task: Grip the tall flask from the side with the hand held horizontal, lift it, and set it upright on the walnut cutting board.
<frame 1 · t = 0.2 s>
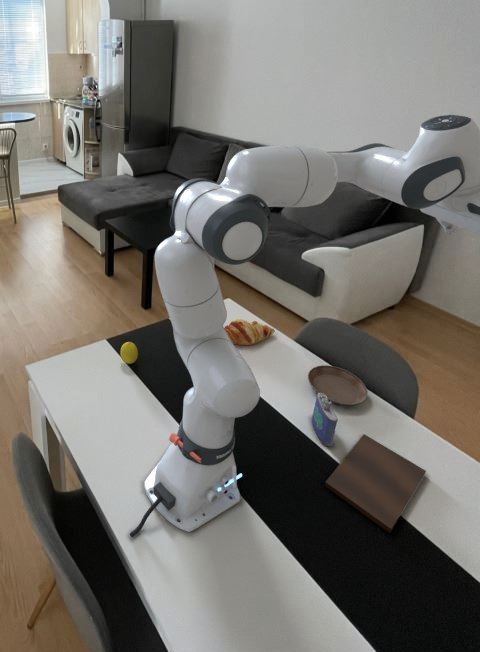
hand: (473, 241, 89), 54 cm above the table, tool tilted 30°, fingers open, 8 cm apart
croissant: (244, 339, 146), on the table
cutting board: (374, 480, 98), on the table
lemon: (129, 363, 138), on the table
flask: (320, 432, 110), on the table
saucer: (335, 391, 123), on the table
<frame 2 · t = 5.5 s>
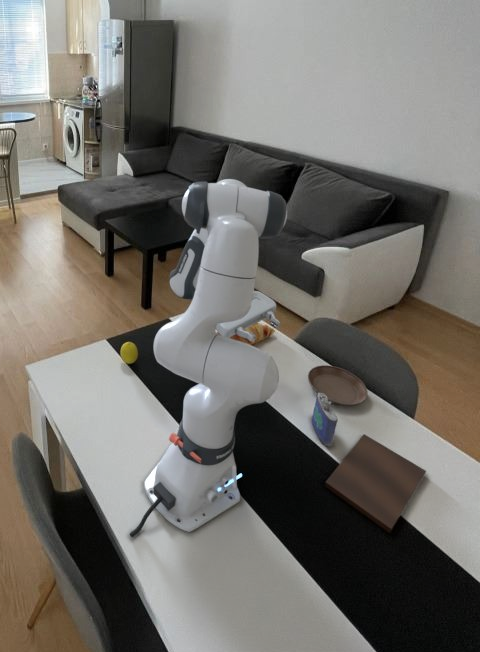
hand: (266, 332, 118), 20 cm above the table, tool horizontal, fingers open, 8 cm apart
nothing on the table moved.
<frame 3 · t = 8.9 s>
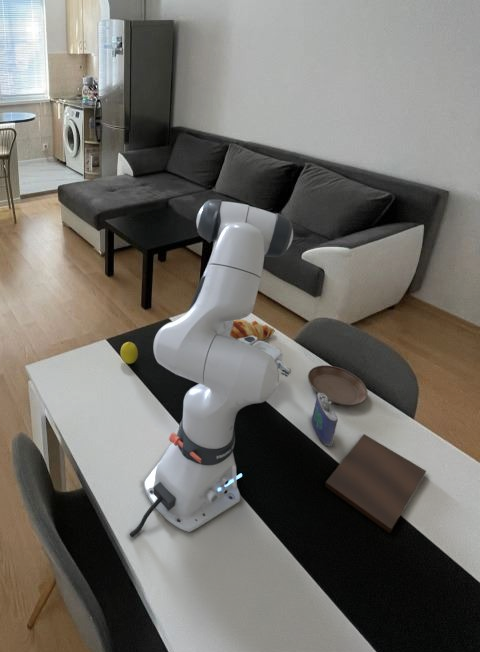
hand: (280, 381, 117), 8 cm above the table, tool horizontal, fingers open, 8 cm apart
nothing on the table moved.
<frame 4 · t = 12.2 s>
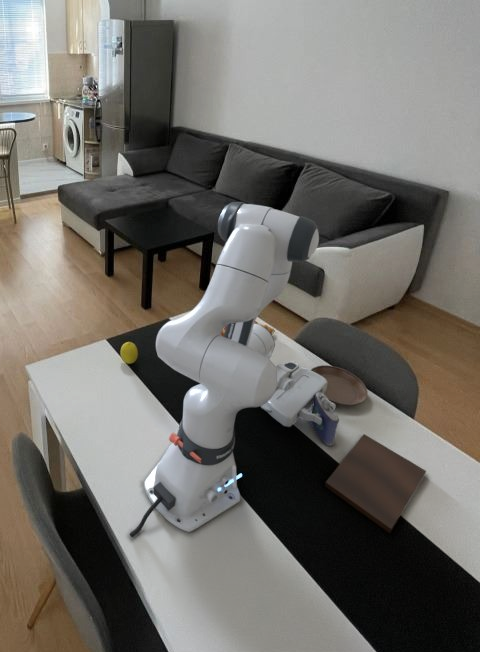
hand: (328, 414, 107), 7 cm above the table, tool horizontal, fingers closed on flask, 5 cm apart
flask: (320, 431, 111), on the table, touching gripper
everything else where it was.
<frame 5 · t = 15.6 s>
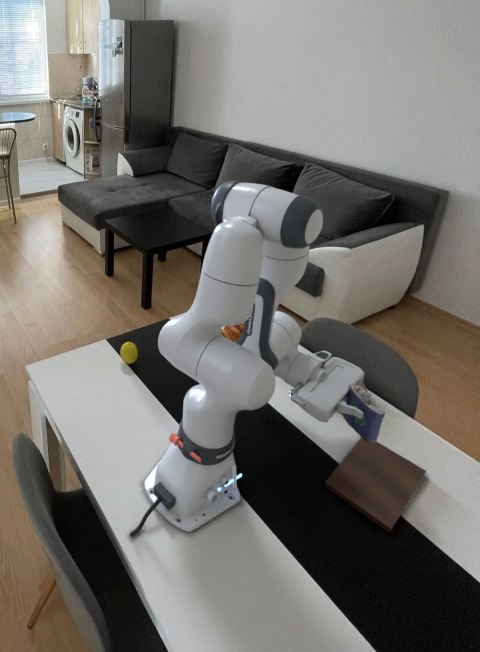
hand: (368, 409, 96), 17 cm above the table, tool horizontal, fingers closed on flask, 4 cm apart
flask: (357, 427, 99), point 10 cm above the table, touching gripper
everything else where it was.
when the fingers open (8 cm above the table, at t = 19.2 s): flask stays where it is, resting on cutting board.
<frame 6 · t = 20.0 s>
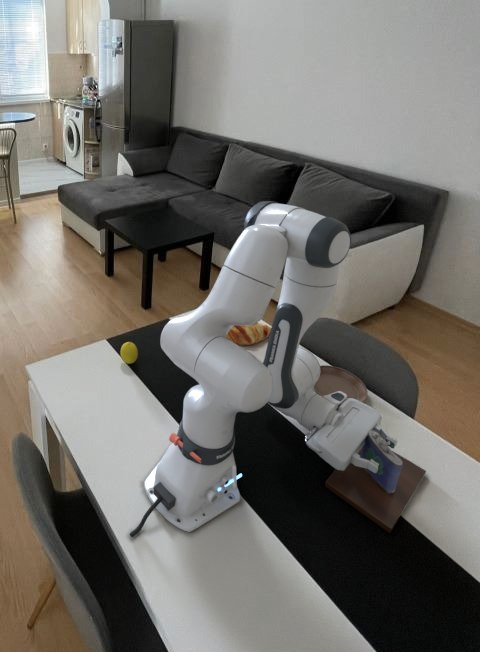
hand: (387, 456, 94), 9 cm above the table, tool horizontal, fingers open, 8 cm apart
flask: (375, 475, 98), point 1 cm above the table, touching cutting board
everything else where it was.
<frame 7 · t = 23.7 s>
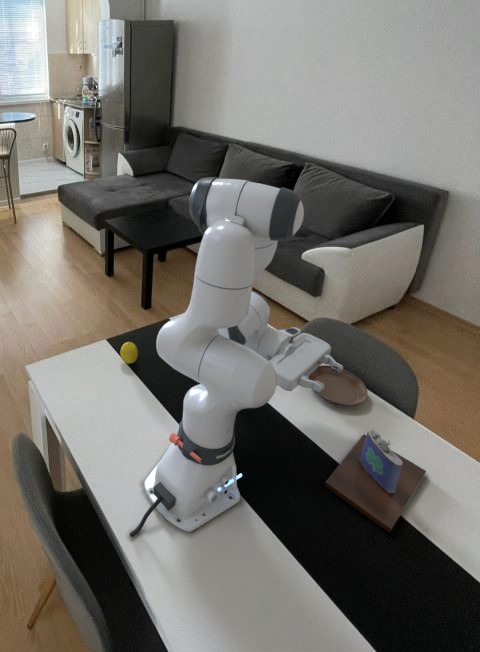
hand: (332, 379, 101), 20 cm above the table, tool horizontal, fingers open, 8 cm apart
nothing on the table moved.
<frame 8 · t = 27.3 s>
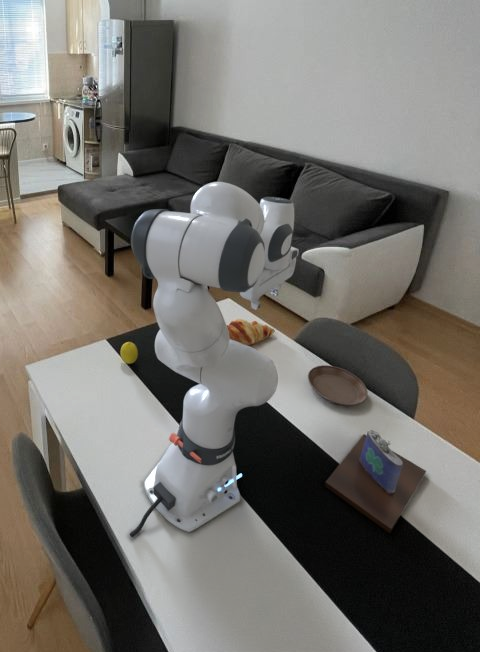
hand: (265, 301, 116), 29 cm above the table, tool pointing down, fingers open, 8 cm apart
nothing on the table moved.
at the end: flask inside the target area on the cutting board (0.4 cm from its centre), point 1.3 cm above the cutting board's base; flask tilted 0°; the gripper is holding nothing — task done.
